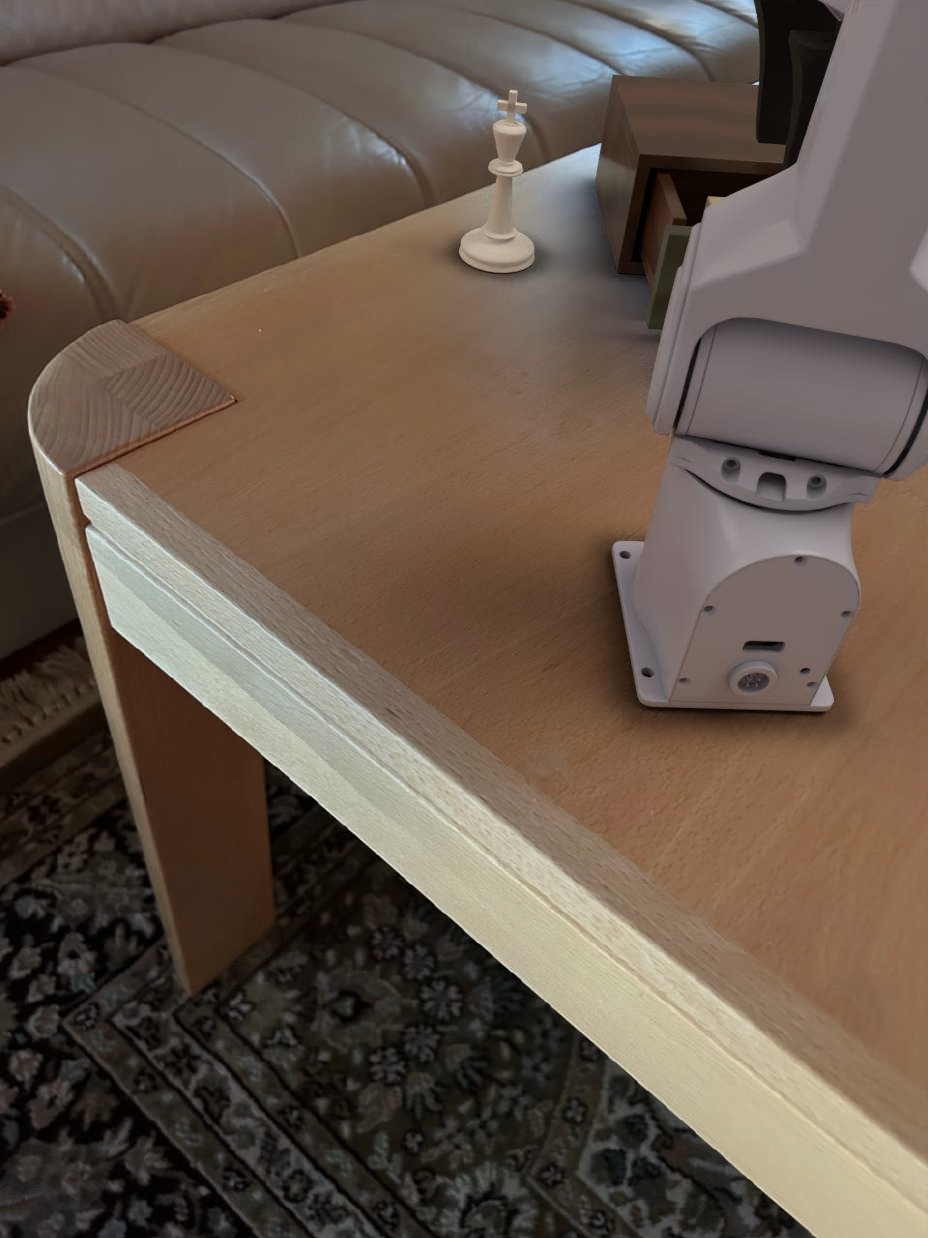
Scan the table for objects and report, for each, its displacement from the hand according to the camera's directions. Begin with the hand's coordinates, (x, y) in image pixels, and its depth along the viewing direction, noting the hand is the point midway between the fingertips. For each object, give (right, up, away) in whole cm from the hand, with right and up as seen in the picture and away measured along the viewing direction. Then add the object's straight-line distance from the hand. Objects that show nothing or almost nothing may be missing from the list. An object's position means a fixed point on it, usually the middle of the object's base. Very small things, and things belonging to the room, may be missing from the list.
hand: (788, 165), depth 54 cm
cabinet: (-1, +3, +17) cm, 17 cm away
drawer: (-1, -5, +9) cm, 10 cm away
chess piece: (-15, 0, +13) cm, 20 cm away
